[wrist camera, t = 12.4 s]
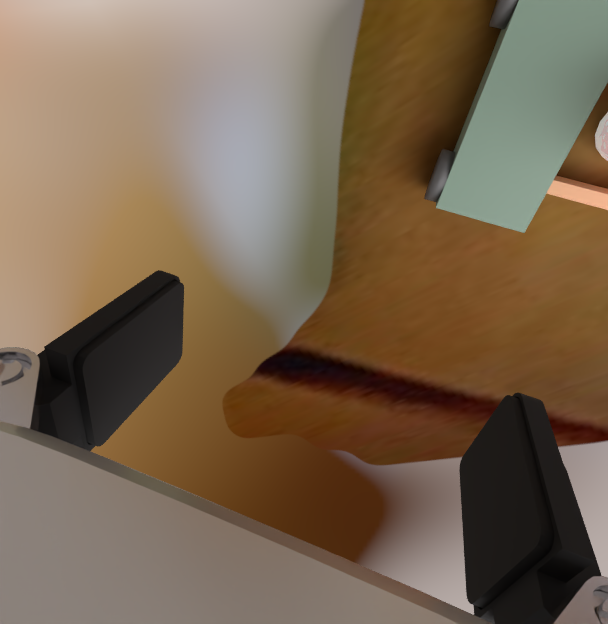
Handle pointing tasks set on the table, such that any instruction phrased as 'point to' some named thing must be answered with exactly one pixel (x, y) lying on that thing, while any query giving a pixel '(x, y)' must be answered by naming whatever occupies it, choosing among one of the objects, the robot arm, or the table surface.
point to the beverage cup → (602, 137)
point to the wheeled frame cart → (527, 113)
